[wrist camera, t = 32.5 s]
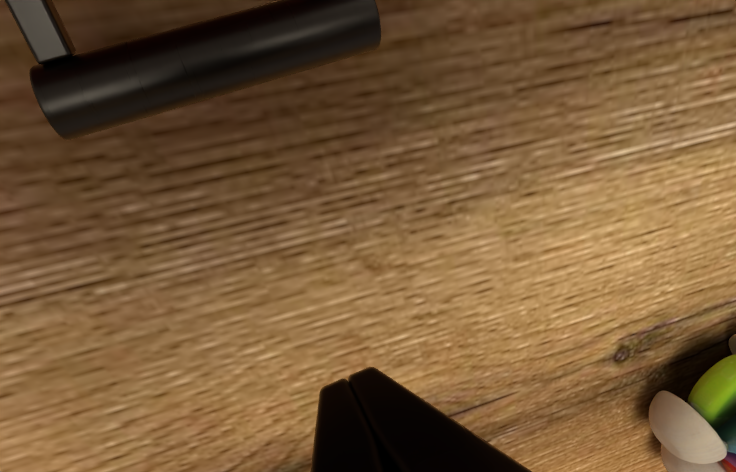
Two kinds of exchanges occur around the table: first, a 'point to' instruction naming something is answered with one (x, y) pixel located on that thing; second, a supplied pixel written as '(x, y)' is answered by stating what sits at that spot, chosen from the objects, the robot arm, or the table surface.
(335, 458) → the robot arm
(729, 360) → the rainbow wheeled toy
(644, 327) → the table surface
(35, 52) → the red drawer
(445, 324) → the table surface
